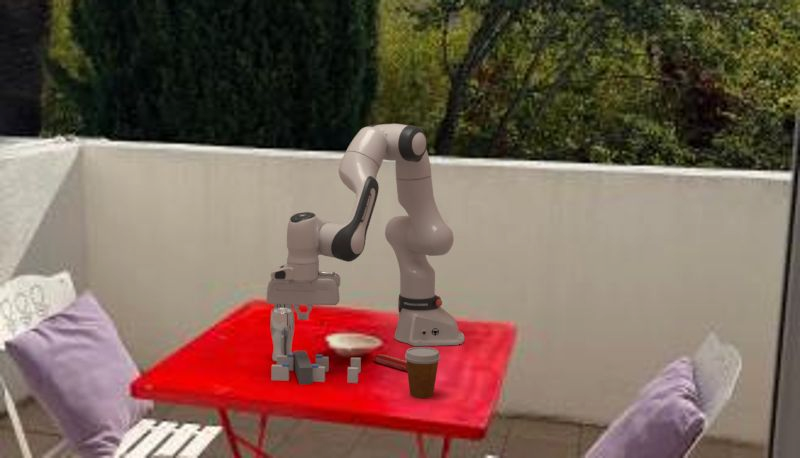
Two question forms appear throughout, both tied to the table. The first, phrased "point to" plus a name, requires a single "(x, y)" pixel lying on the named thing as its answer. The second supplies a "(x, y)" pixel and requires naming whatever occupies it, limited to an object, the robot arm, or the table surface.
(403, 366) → the candy bar
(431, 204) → the robot arm
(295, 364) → the tall grey pillar
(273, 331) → the beer glass
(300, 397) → the table surface
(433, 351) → the disposable coffee cup
